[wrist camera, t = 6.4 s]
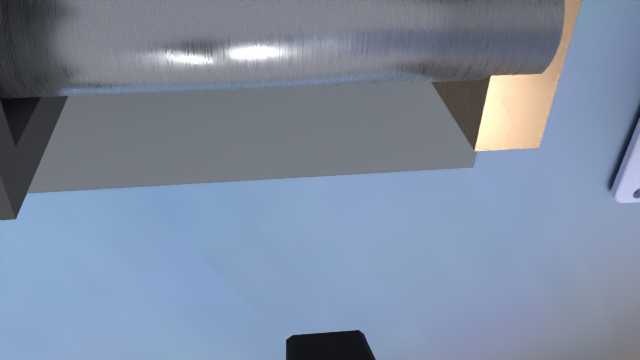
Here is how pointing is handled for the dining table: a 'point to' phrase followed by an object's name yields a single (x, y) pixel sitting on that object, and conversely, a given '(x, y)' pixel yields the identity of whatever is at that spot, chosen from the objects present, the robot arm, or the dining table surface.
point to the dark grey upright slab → (23, 145)
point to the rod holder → (300, 51)
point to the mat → (249, 136)
